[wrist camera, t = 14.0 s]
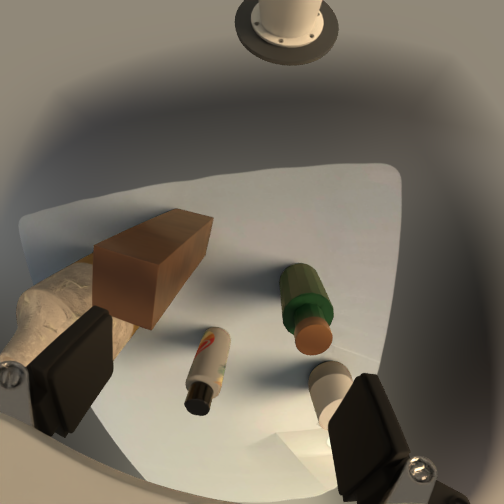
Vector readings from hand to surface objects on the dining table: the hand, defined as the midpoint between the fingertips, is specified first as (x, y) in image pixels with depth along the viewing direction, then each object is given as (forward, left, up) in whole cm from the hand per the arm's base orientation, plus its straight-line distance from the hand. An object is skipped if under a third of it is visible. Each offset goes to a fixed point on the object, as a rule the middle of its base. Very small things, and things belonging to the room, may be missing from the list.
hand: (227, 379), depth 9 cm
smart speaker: (+29, +23, -40) cm, 55 cm away
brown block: (+6, -11, -40) cm, 42 cm away
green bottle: (+10, +10, -40) cm, 43 cm away
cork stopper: (+10, +10, -26) cm, 30 cm away
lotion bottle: (+26, -2, -40) cm, 48 cm away
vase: (+23, -26, -40) cm, 53 cm away
